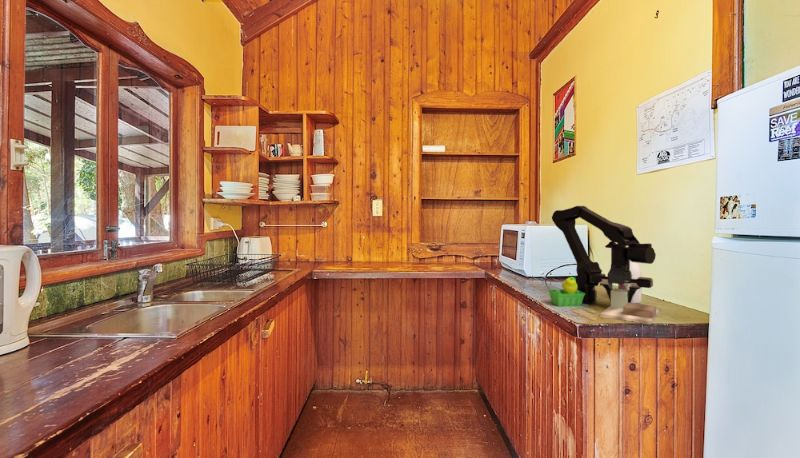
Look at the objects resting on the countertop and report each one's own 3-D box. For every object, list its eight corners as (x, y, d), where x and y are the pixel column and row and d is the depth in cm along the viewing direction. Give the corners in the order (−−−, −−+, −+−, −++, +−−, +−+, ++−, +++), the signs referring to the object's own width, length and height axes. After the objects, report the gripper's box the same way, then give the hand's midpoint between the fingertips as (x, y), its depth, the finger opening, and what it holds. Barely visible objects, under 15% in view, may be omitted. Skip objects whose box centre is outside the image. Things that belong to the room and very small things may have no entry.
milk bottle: (639, 300, 141) (639, 250, 141) (643, 304, 134) (643, 252, 134) (616, 298, 144) (616, 250, 144) (619, 302, 137) (619, 251, 137)
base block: (623, 314, 118) (623, 306, 118) (628, 309, 123) (628, 302, 123) (652, 318, 112) (652, 310, 112) (656, 313, 118) (656, 306, 118)
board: (599, 316, 119) (599, 313, 119) (615, 304, 135) (615, 301, 135) (650, 324, 109) (650, 321, 109) (660, 310, 125) (660, 307, 125)
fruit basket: (575, 301, 140) (575, 273, 140) (588, 307, 132) (588, 277, 131) (547, 302, 140) (547, 274, 139) (558, 308, 131) (558, 278, 131)
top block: (610, 306, 128) (610, 290, 127) (614, 304, 131) (614, 288, 131) (626, 309, 124) (626, 292, 124) (629, 306, 128) (629, 289, 128)
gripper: (585, 261, 128) (585, 304, 128) (647, 265, 115) (647, 312, 115) (594, 258, 136) (594, 298, 136) (653, 261, 123) (653, 306, 123)
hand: (620, 303), depth 128 cm, fingers closed on top block, 5 cm apart
